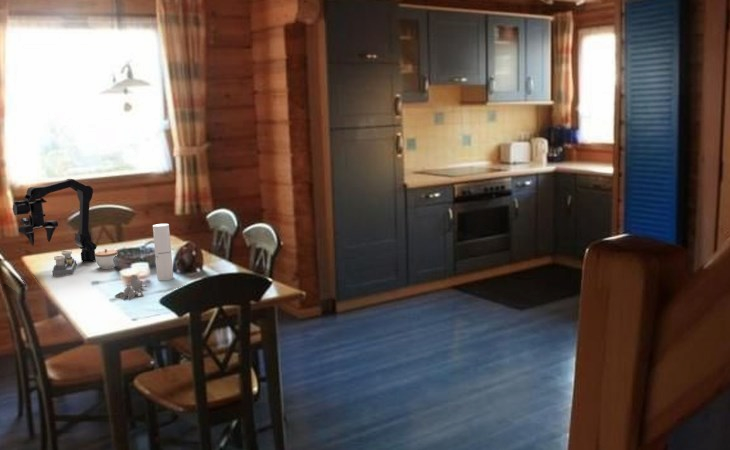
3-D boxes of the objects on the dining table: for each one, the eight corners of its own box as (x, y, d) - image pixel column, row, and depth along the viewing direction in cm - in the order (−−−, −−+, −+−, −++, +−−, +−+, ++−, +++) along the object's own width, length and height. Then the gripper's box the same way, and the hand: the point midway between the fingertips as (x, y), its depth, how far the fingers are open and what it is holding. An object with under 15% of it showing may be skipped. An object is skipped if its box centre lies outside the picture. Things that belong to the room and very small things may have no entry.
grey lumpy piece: (145, 295, 292) (126, 281, 290) (129, 313, 292) (111, 299, 290) (151, 284, 311) (134, 271, 309) (137, 301, 311) (120, 288, 309)
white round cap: (73, 260, 356) (72, 249, 355) (72, 262, 351) (71, 251, 350) (63, 261, 355) (61, 250, 354) (61, 263, 350) (60, 252, 349)
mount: (76, 265, 359) (75, 257, 358) (72, 274, 339) (71, 266, 339) (57, 266, 357) (57, 259, 356) (52, 276, 337) (51, 268, 336)
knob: (66, 266, 344) (65, 254, 343) (65, 268, 340) (64, 256, 338) (55, 267, 343) (54, 255, 342) (54, 269, 338) (53, 257, 337)
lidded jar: (122, 264, 356) (120, 246, 354) (113, 270, 346) (111, 251, 344) (102, 265, 357) (100, 247, 355) (92, 270, 347) (90, 251, 345)
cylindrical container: (169, 280, 321) (164, 226, 316) (154, 280, 322) (149, 226, 318) (176, 276, 328) (171, 223, 323) (162, 276, 329) (157, 223, 325)
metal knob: (73, 264, 350) (72, 256, 349) (72, 265, 347) (71, 257, 346) (66, 264, 349) (65, 257, 348) (66, 266, 346) (65, 258, 345)
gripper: (42, 208, 359) (46, 238, 361) (9, 214, 343) (13, 246, 345) (57, 209, 353) (61, 240, 356) (24, 216, 337) (28, 247, 340)
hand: (40, 243), depth 350 cm, fingers open, 9 cm apart
